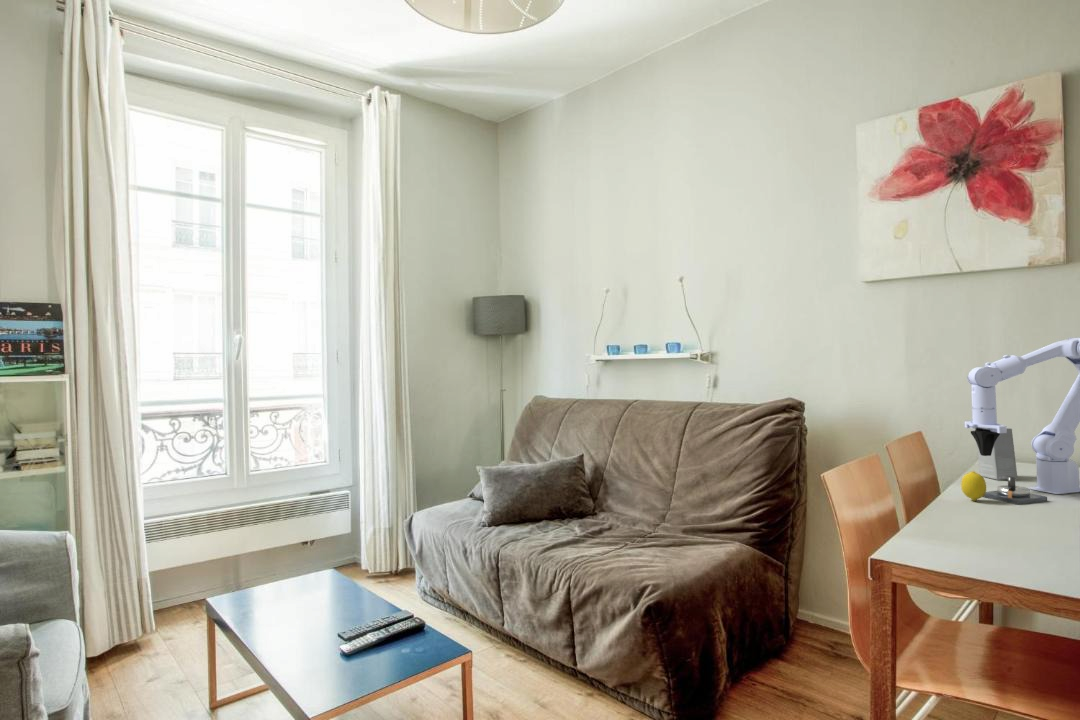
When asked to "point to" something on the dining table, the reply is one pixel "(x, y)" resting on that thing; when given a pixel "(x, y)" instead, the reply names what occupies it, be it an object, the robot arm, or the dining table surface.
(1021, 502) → the dial plate
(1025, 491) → the dial
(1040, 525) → the dining table surface
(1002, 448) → the skincare box
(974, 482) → the lemon
